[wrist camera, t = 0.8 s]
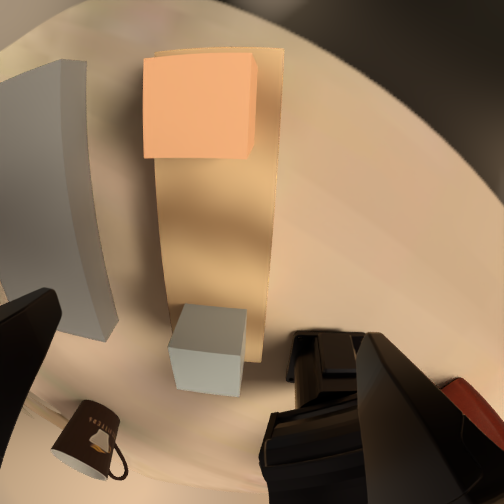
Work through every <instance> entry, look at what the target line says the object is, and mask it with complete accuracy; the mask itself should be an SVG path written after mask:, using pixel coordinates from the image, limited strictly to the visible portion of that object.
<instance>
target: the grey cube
mask: <svg viewBox="0 0 504 504" xmlns="http://www.w3.org/2000/svg"><path fill="white" fill-rule="evenodd" d="M246 320H247V309H238V308H226V307H215V306H205V305H195V304H186V303H185V305H184V307H183V310H182V312H181V315H180V317H179V320H178V322H177V325H176V327H175V330H174V332H173V335H172V337H171V340H170V342H169V345H168V351H169V356H170V361H171V365H172V370H173V374H174V378H175V383H176V387H177V389H180V390H186V391H193V392H200V393H207V394H215V395H224V396H233V397H240V389H241V381H242V373H243V366H244V358H245V344H246Z"/></svg>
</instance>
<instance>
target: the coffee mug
mask: <svg viewBox="0 0 504 504" xmlns="http://www.w3.org/2000/svg"><path fill="white" fill-rule="evenodd" d="M119 423H120V419H119V418H118V416H117V415H116V414H115V413H114V412H113V411H111V410H110V409H108V408H107V407H105V406H103V405H101V404H99V403H97V402H94V401H91V400H84V401H82V403H81V404H80V406H79V407H78V409H77V410H76V412H75V413H74V415H73V416H72V418H71V419H70V421H69V422H68V424H67V425H66V427H65V428H64V430H63V431H62V433H61V434H60V436H59V437H58V439H57V440H56V442H55V443H54V445H53V447H52V448H51V450H50V451H51V453H52V454H53V455H54V456H55V457H57V458H58V459H59V460H60V461H62V462H63V463H65V464H66V465H68V466H70V467H72V468H73V469H75V470H77V471H79V472H81V473H83V474H85V475H88V476H90V477H92V478H95V479H99V480H104V481H106V480H107V478H108V475H109V476H110V477H111V478H113V479H115V480H124V479H125V478H126V477H127V475H128V466H127V463H126V461H125V458H124V456H123V455H122V453H121V451H120V449H119V448H118V446H117V444H116V443H115V440H116V436H117V432H118V427H119ZM114 448H115V450H116V451H117V453H118V455H119V456H120V458H121V460H122V462H123V465H124V469H125V472H124V474H123V476H121V477H116V476H114V475H113V474H112V473H111V471H110V469H109V468H110V463H111V459H112V454H113V449H114Z"/></svg>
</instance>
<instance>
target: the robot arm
mask: <svg viewBox="0 0 504 504" xmlns="http://www.w3.org/2000/svg"><path fill="white" fill-rule="evenodd" d="M61 318H62V309H61V306H60V303H59V300H58V296H57V293H56V291H55V290H54V289H51V288H47V287H42V288H40V289H38V290H35V291H33V292H31V293H28V294H26V295H24V296H21V297H19V298H17V299H15V300H12V301H10V302H8V303H6V304H3V305H1V306H0V468H1V465H2V461H3V458H4V455H5V451H6V448H7V446H8V443H9V440H10V437H11V434H12V431H13V429H14V426H15V424H16V421H17V419H18V416H19V414H20V411H21V409H22V407H23V404H24V402H25V399H26V397H27V395H28V393H29V390H30V388H31V386H32V384H33V382H34V379H35V377H36V375H37V373H38V371H39V369H40V367H41V365H42V363H43V361H44V359H45V356H46V354H47V352H48V349H49V347H50V344H51V342H52V339H53V337H54V334H55V332H56V330H57V327H58V325H59V323H60V320H61ZM298 337H301V338H298ZM361 339H362V340H361ZM286 381H287V382H290V383H295V409H294V410H290V411H285V412H280V413H279V412H275V413H271V415H270V419H269V422H268V425H267V429H266V432H265V436H264V439H263V443H262V446H261V449H260V453H259V461H260V462H259V466H260V468H261V471H262V475H263V477H264V479H265V481H266V482H267V486H268V492H269V504H504V451H503V450H502V449H501V448H500V447H498V446H497V445H496V444H495V443H494V442H493V441H492V440H491V439H489V438H488V437H487V436H486V435H485V434H484V433H483V432H482V431H481V430H480V429H479V428H478V427H477V426H476V425H475V424H474V423H473V422H472V421H471V420H470V419H469V418H468V417H467V416H466V415H465V414H463V412H462V411H461V410H460V409H459V408H458V407H457V406H456V405H455V404H454V403H453V402H452V401H451V400H450V399H449V398H448V397H447V396H446V395H445V394H444V393H443V392H442V391H441V390H440V389H439V388H438V387H437V386H436V385H435V384H434V383H433V382H432V381H431V380H430V379H429V378H428V377H427V376H426V375H425V374H424V373H423V372H422V371H421V370H420V369H419V368H418V367H416V366H415V365H414V364H413V363H412V362H411V361H410V360H409V359H408V358H407V357H406V356H405V355H404V354H403V353H402V352H401V351H400V350H399V349H398V348H397V347H396V346H395V345H394V344H393V343H392V342H390V341H389V340H388V339H387V338H386V337H385V336H384V335H383V334H382V333H379V332H368V333H330V332H304V331H299V332H296V333H295V334H294V337H293V343H292V348H291V353H290V358H289V364H288V369H287V374H286Z"/></svg>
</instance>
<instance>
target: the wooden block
mask: <svg viewBox="0 0 504 504" xmlns="http://www.w3.org/2000/svg"><path fill="white" fill-rule="evenodd" d="M198 53H252V55H253V57H254V59H255V61H256V64H257V66H258V73H257V94H256V116H255V137H254V146H253V148H252V150H251V152H250V154H249V156H248V158H247V159H222V158H154V163H155V183H156V199H157V212H158V224H159V235H160V245H161V254H162V263H163V271H164V279H165V287H166V294H167V301H168V308H169V314H170V321H171V327H172V333H173V332H174V330H175V327H176V325H177V322H178V320H179V317H180V315H181V312H182V310H183V307H184V305H185V303H186V304H195V305H205V306H215V307H226V308H238V309H247V320H246V344H245V358H244V361H246V362H258V363H261V359H262V349H263V338H264V327H265V317H266V306H267V294H268V283H269V271H270V259H271V247H272V234H273V222H274V208H275V195H276V181H277V166H278V151H279V136H280V119H281V102H282V84H283V65H284V49H279V48H260V47H213V48H193V49H180V50H170V51H161V52H155V57H162V56H172V55H183V54H198Z"/></svg>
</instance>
